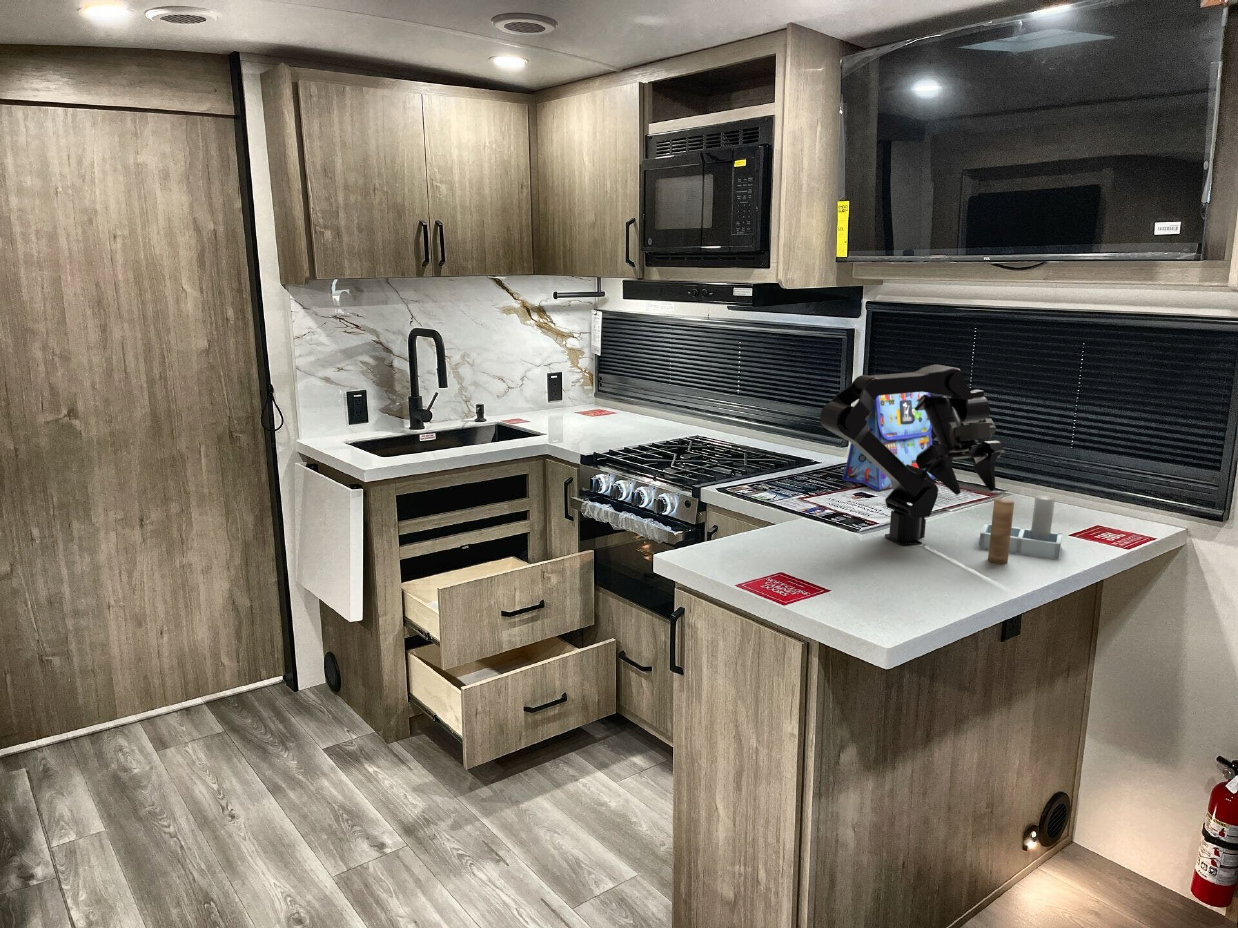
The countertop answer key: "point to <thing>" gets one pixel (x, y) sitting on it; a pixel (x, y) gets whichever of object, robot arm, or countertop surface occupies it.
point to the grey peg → (1042, 518)
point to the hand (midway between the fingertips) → (976, 492)
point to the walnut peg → (1000, 531)
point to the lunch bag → (891, 437)
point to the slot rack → (1026, 543)
